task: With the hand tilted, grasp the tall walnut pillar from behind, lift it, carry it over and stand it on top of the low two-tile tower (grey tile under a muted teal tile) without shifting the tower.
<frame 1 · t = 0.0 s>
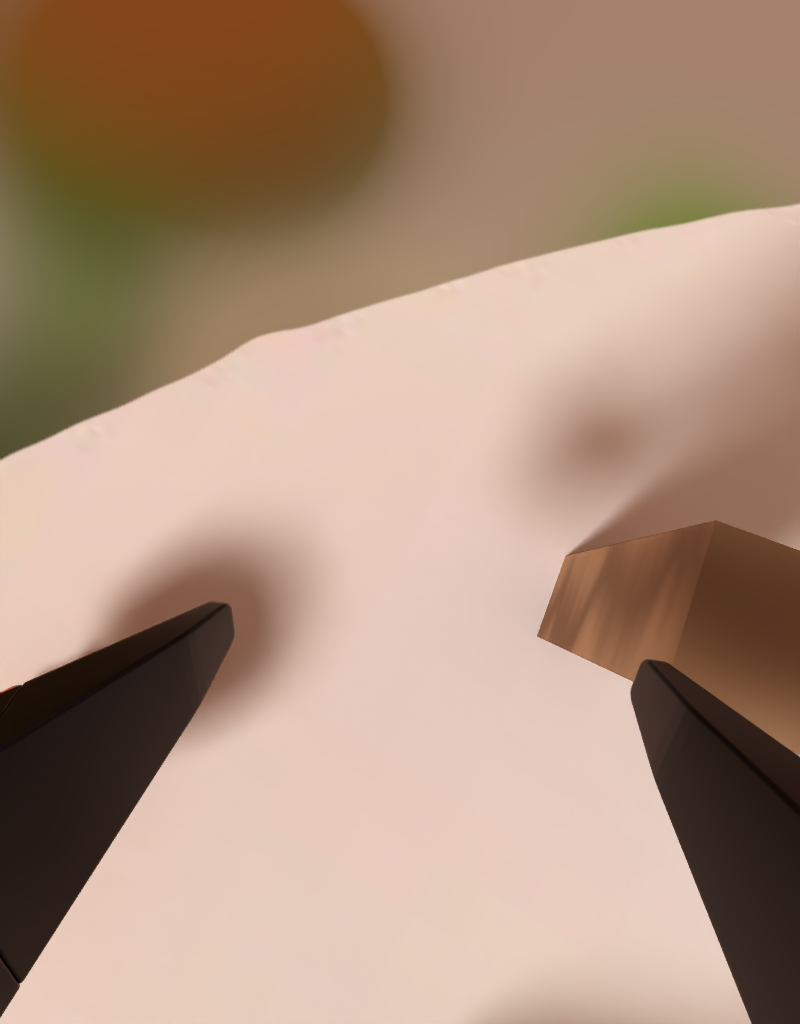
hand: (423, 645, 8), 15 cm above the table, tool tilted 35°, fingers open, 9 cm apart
walnut pillar: (593, 612, 22), on the table
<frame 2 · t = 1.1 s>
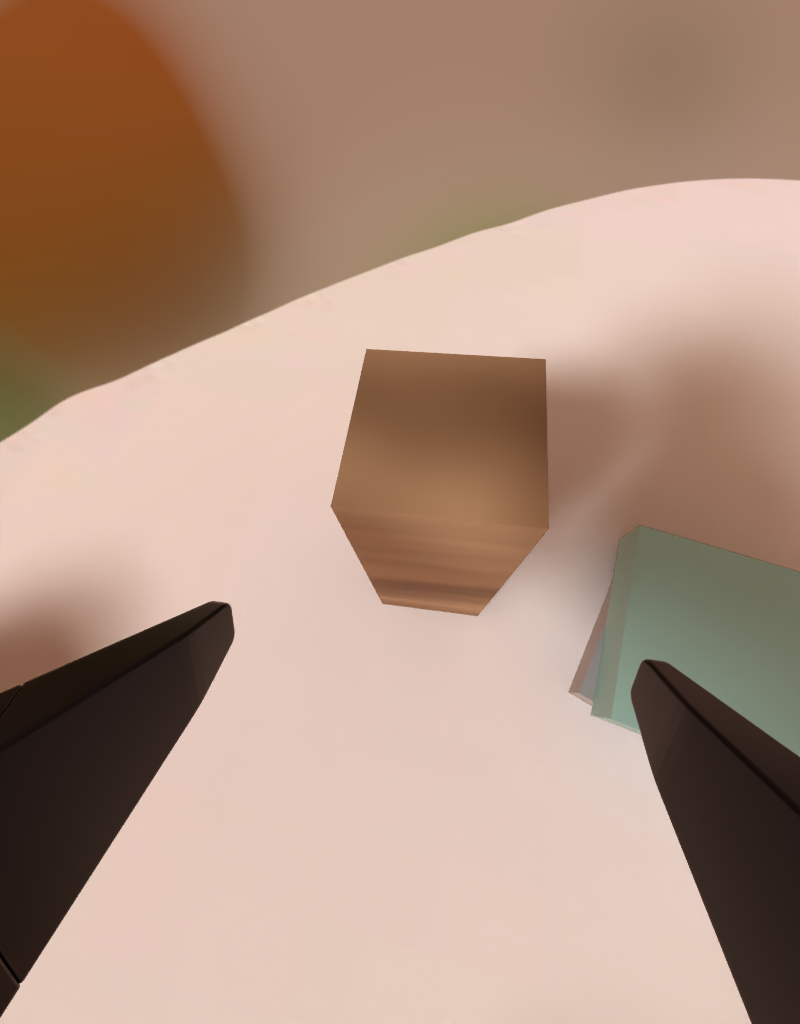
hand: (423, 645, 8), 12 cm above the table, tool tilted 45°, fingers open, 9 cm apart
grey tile: (684, 657, 19), on the table, touching teal tile
walnut pillar: (434, 563, 21), on the table
teal tile: (704, 653, 18), point 1 cm above the table, touching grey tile
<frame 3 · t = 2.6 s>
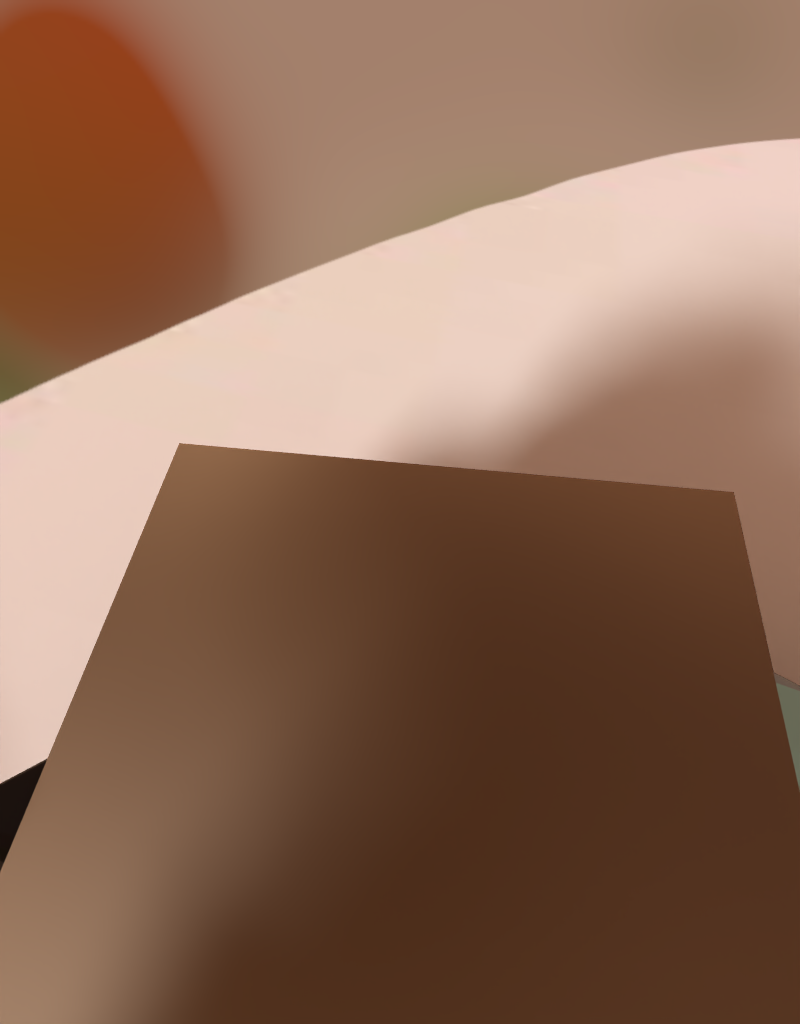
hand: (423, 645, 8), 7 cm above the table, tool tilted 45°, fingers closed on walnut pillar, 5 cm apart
walnut pillar: (419, 698, 14), on the table, touching gripper
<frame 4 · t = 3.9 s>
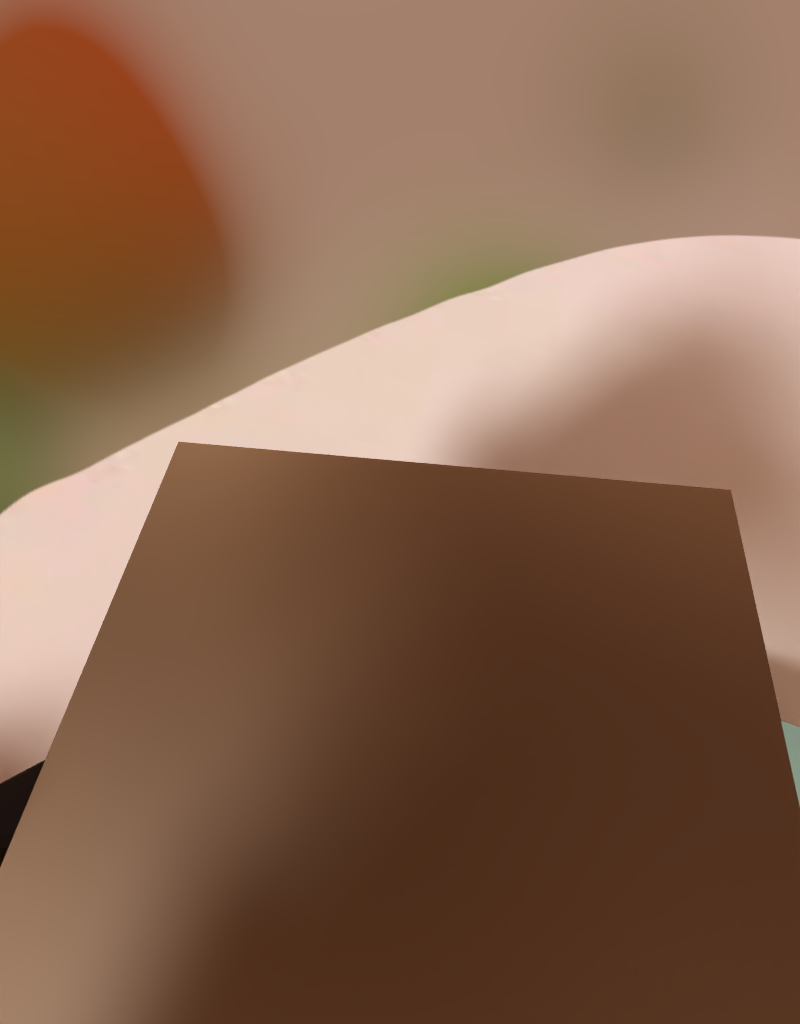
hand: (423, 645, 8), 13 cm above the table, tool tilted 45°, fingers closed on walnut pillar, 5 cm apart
walnut pillar: (419, 698, 14), point 7 cm above the table, touching gripper
teal tile: (690, 803, 17), point 1 cm above the table, touching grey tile
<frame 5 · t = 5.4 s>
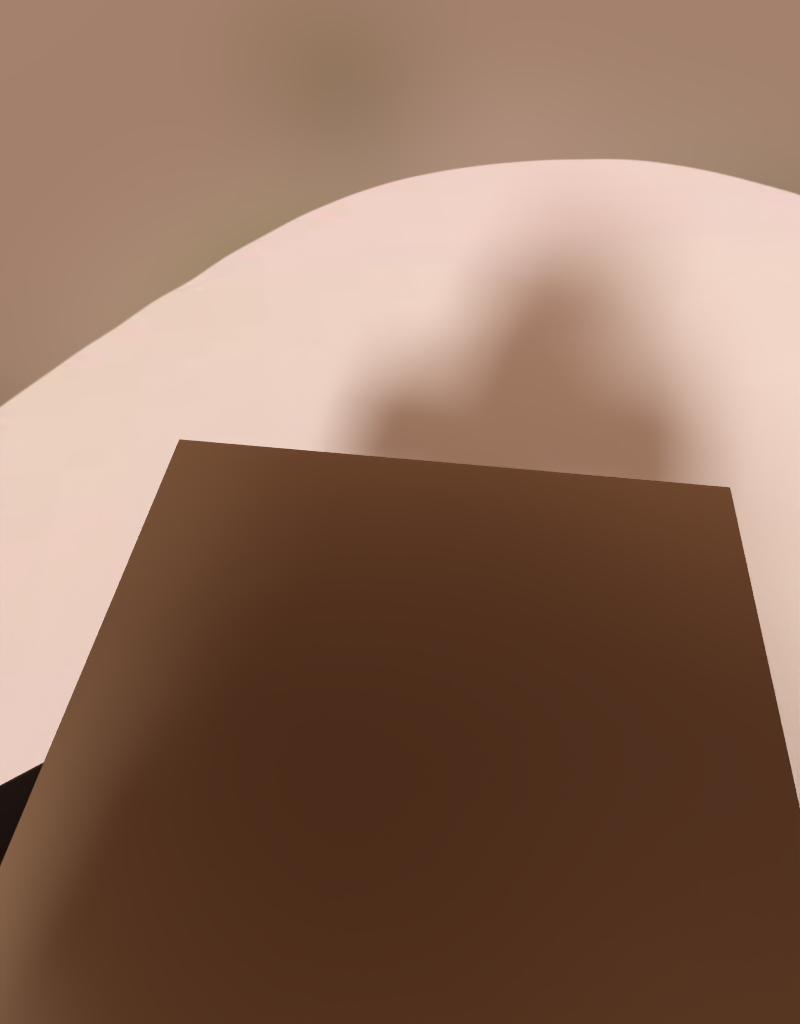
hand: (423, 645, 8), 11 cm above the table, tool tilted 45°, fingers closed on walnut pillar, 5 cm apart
walnut pillar: (419, 697, 14), point 5 cm above the table, touching gripper
when the fingers open (11 cm above the table, at t = 5.6 s): walnut pillar drops 2 cm, resting on teal tile.
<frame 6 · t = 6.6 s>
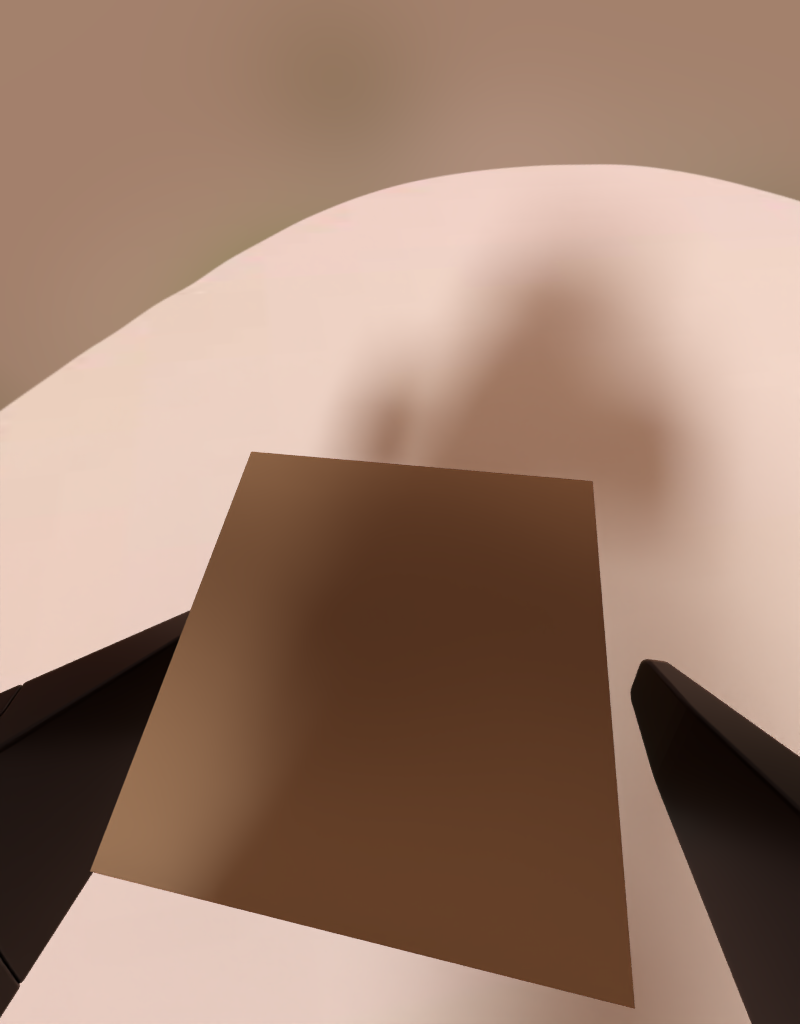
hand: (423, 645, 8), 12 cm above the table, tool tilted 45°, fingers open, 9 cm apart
walnut pillar: (417, 687, 16), point 3 cm above the table, touching teal tile
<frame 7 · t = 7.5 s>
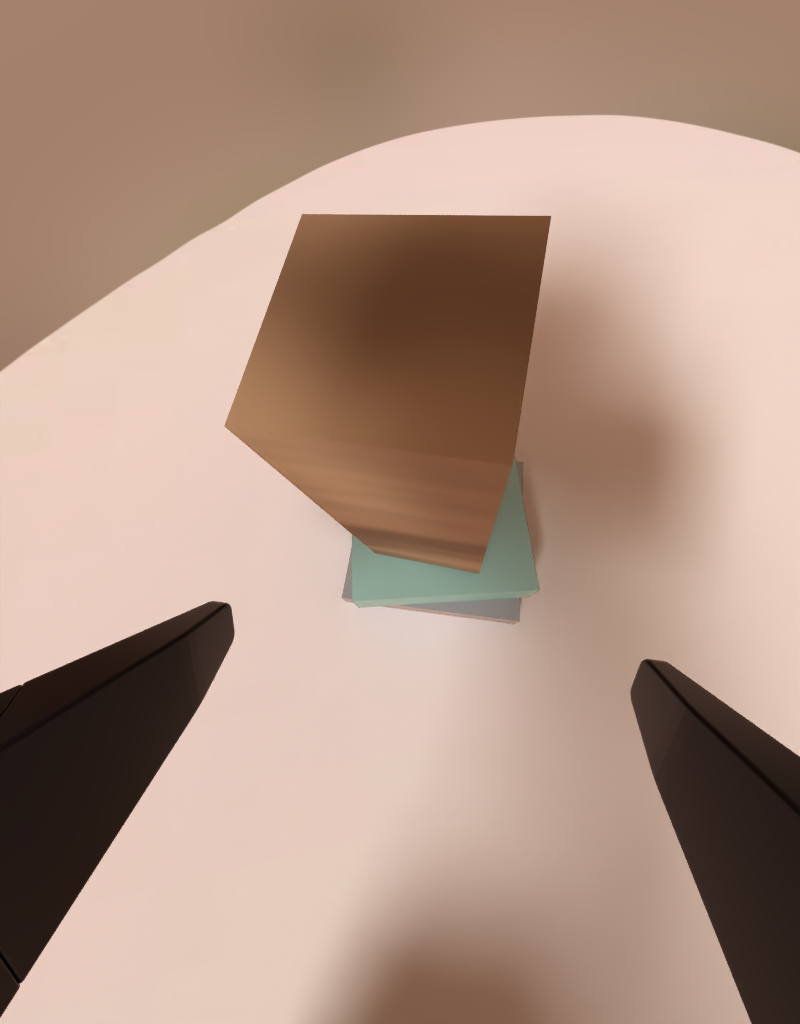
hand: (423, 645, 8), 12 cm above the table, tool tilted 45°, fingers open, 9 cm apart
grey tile: (436, 537, 23), on the table, touching teal tile
walnut pillar: (435, 513, 19), point 4 cm above the table, tilted 8°
teal tile: (435, 523, 21), point 1 cm above the table, touching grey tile
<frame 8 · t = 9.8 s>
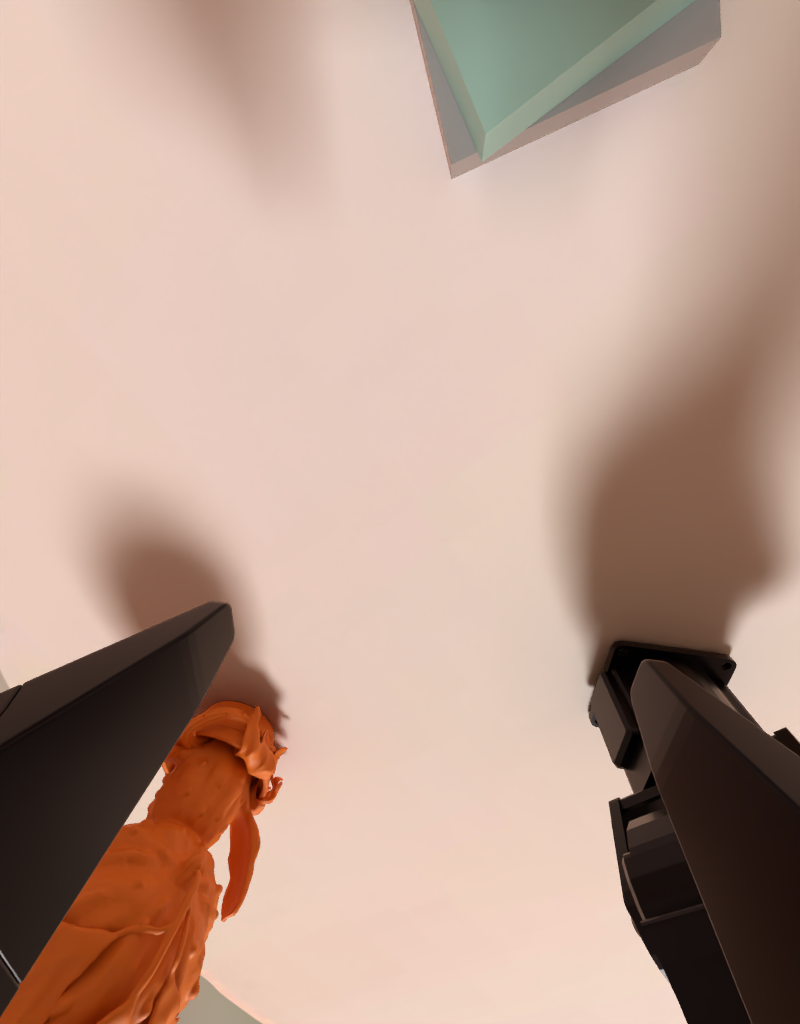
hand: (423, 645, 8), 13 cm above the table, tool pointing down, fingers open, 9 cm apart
orange statue: (238, 727, 30), on the table
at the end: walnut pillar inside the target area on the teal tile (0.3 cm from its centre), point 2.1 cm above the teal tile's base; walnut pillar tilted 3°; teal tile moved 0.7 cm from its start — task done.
